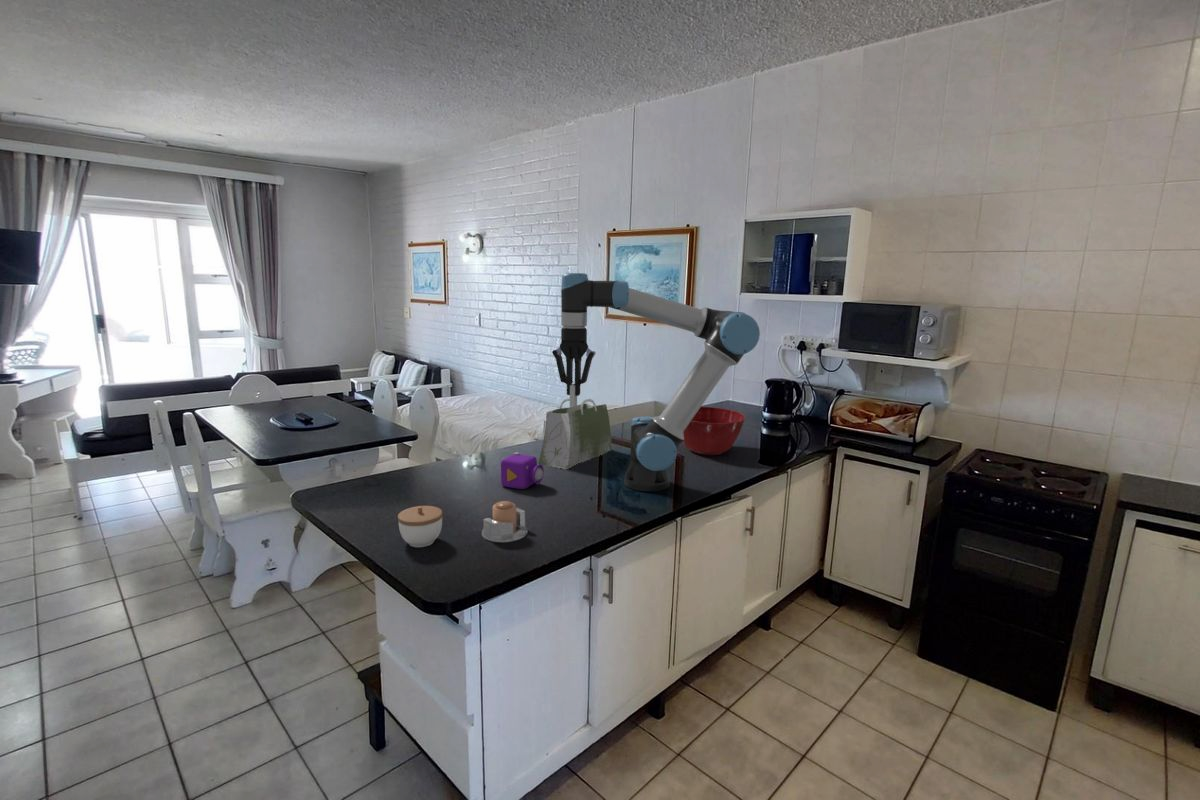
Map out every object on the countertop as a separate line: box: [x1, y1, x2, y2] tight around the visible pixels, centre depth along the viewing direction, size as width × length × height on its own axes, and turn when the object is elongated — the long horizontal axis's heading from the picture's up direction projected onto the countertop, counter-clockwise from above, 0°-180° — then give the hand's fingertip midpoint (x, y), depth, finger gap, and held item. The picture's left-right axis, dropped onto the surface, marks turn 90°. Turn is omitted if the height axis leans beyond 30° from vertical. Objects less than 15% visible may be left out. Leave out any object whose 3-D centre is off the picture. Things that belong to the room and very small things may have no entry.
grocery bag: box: [538, 398, 612, 470], centre depth 217 cm, size 32×14×23 cm, turn 148°
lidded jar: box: [397, 505, 443, 548], centre depth 143 cm, size 11×11×9 cm
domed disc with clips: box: [481, 507, 528, 544], centre depth 149 cm, size 12×12×5 cm
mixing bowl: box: [682, 406, 746, 456], centre depth 229 cm, size 28×28×16 cm
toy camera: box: [500, 451, 545, 490], centre depth 185 cm, size 11×14×10 cm
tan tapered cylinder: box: [492, 500, 517, 534], centre depth 149 cm, size 6×6×8 cm
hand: (573, 406), depth 169 cm, fingers closed
